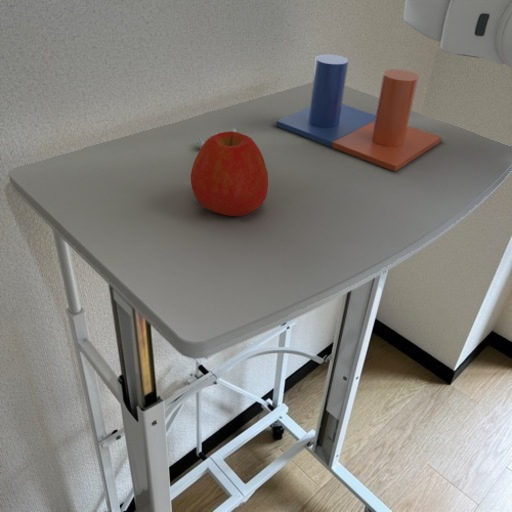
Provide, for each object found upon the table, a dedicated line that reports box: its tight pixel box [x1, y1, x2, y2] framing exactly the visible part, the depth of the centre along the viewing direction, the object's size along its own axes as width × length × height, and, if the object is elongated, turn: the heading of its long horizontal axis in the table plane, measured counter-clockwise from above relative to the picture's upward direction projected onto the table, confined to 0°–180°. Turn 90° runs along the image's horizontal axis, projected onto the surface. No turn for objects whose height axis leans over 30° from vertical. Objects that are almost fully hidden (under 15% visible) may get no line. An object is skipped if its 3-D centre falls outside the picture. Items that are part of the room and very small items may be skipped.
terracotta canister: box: [372, 68, 420, 146], centre depth 90 cm, size 6×6×11 cm
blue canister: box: [309, 53, 349, 128], centre depth 95 cm, size 6×6×11 cm
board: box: [276, 103, 442, 172], centre depth 97 cm, size 24×16×1 cm, turn 49°
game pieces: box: [196, 128, 238, 150], centre depth 90 cm, size 8×2×2 cm, turn 128°
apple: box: [189, 130, 269, 217], centre depth 72 cm, size 10×10×10 cm
